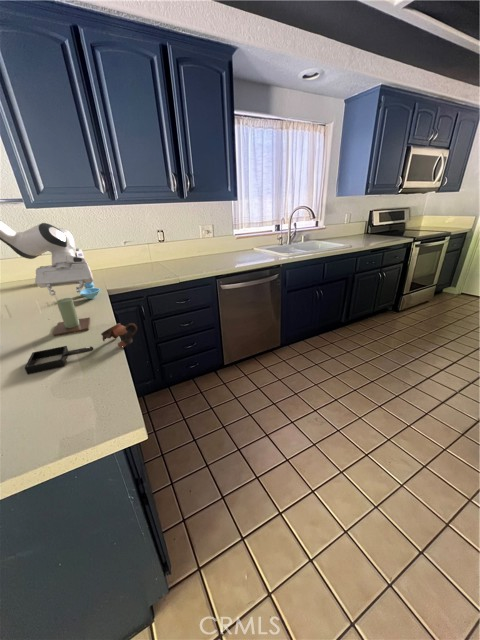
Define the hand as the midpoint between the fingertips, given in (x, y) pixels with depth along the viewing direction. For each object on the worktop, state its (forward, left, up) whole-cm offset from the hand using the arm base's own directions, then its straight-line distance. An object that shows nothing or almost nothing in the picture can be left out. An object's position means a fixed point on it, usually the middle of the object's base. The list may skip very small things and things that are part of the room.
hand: (66, 293), depth 107 cm
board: (0, -4, -14) cm, 14 cm away
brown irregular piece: (+18, -27, -14) cm, 35 cm away
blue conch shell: (+4, +37, -14) cm, 40 cm away
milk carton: (-4, +88, -14) cm, 89 cm away
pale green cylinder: (0, -4, -13) cm, 13 cm away
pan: (0, -31, -14) cm, 34 cm away
